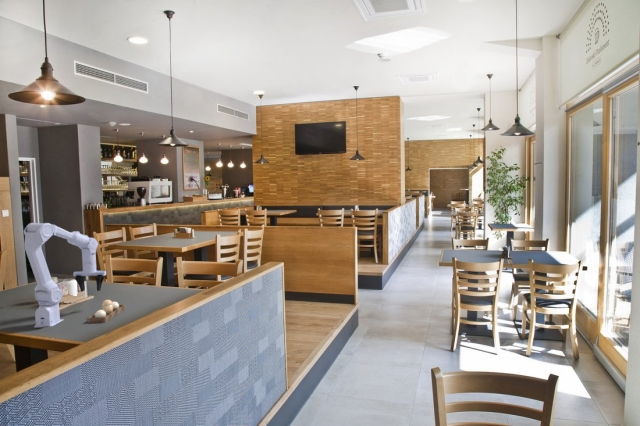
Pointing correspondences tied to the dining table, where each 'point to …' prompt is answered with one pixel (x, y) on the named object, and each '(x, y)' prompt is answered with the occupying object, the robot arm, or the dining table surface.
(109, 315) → the holder
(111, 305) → the beige jar
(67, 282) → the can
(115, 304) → the egg right
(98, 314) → the egg left
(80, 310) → the dining table surface
